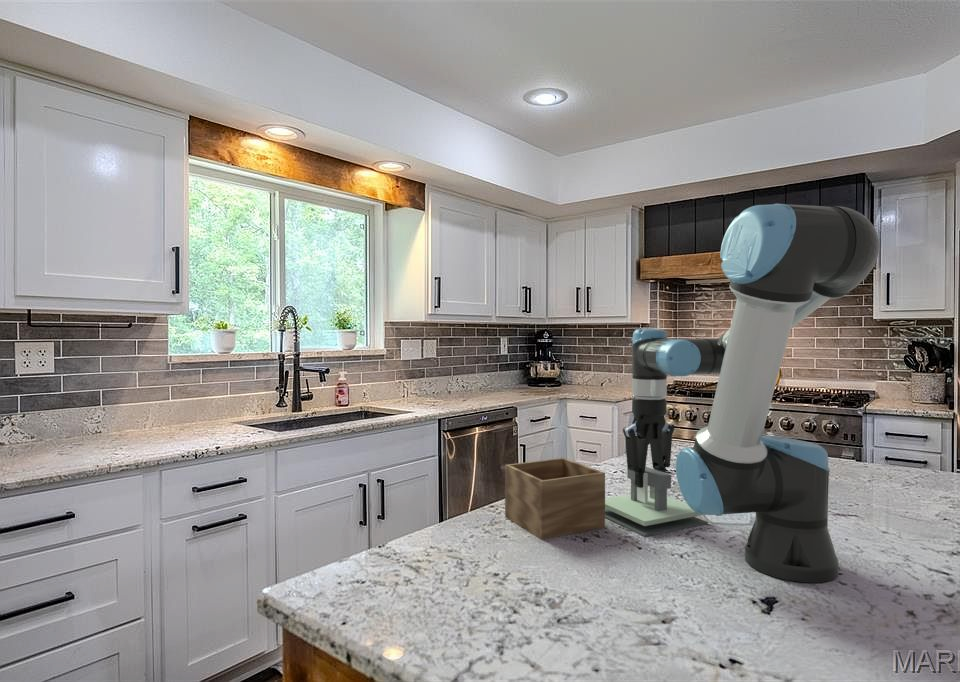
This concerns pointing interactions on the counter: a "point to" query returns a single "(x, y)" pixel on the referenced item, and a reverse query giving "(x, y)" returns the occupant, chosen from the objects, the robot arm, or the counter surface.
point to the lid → (650, 502)
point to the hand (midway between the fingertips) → (648, 499)
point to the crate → (555, 497)
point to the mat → (653, 528)
